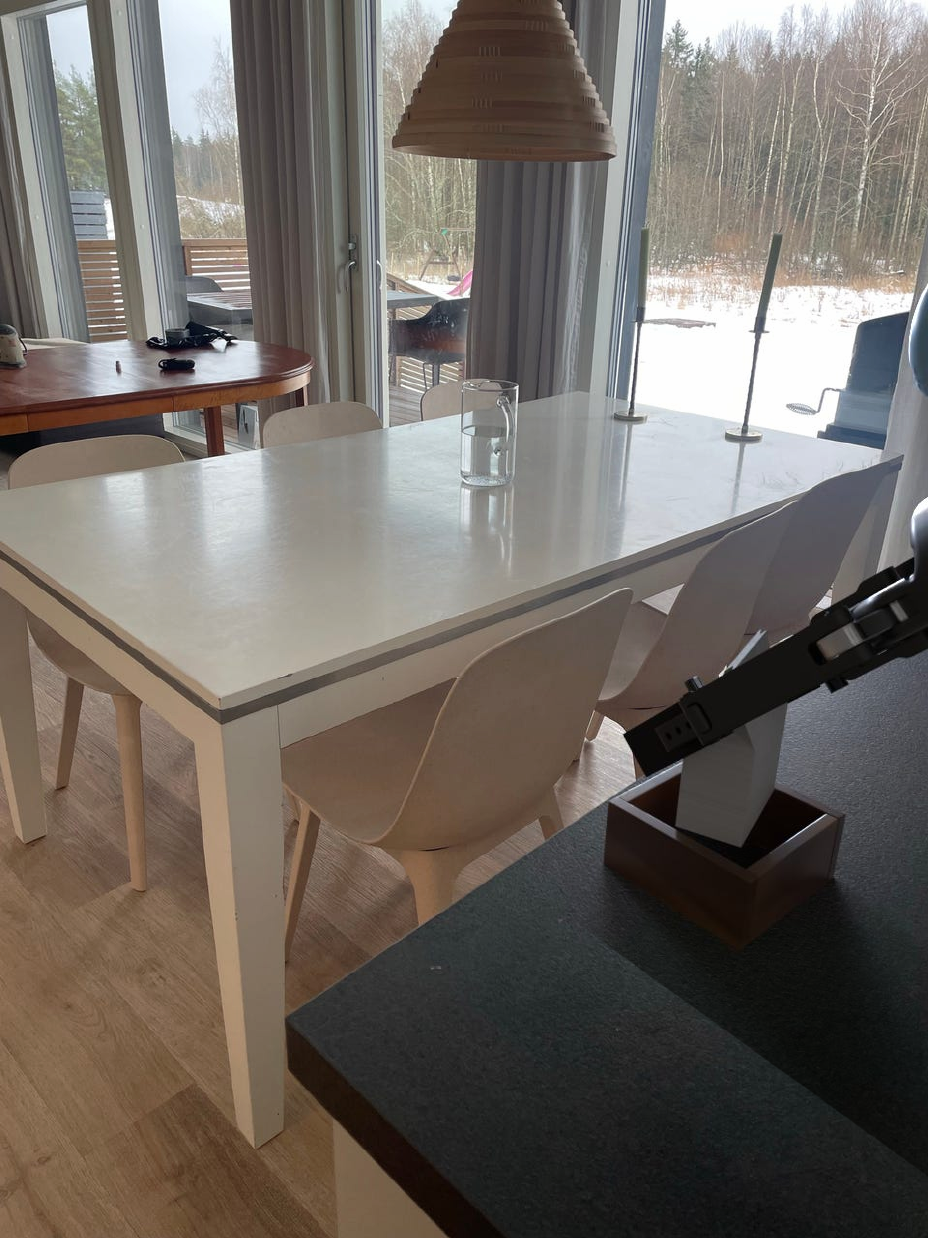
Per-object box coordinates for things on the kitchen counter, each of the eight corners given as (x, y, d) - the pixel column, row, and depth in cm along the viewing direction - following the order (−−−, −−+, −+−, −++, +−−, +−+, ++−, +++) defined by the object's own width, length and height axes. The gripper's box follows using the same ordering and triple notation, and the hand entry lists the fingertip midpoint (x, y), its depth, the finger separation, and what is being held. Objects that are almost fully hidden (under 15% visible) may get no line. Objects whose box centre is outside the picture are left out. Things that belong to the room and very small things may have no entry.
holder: (697, 829, 62) (707, 748, 60) (829, 902, 56) (846, 814, 53) (600, 888, 57) (608, 801, 54) (734, 978, 50) (749, 882, 48)
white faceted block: (774, 790, 55) (798, 636, 52) (740, 847, 50) (765, 680, 46) (713, 772, 57) (733, 622, 53) (675, 826, 52) (694, 663, 48)
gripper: (1000, 682, 30) (597, 857, 48) (1185, 559, 43) (811, 734, 60) (873, 491, 32) (529, 727, 49) (1087, 425, 44) (751, 633, 62)
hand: (684, 730), depth 55 cm, fingers closed on white faceted block, 8 cm apart
